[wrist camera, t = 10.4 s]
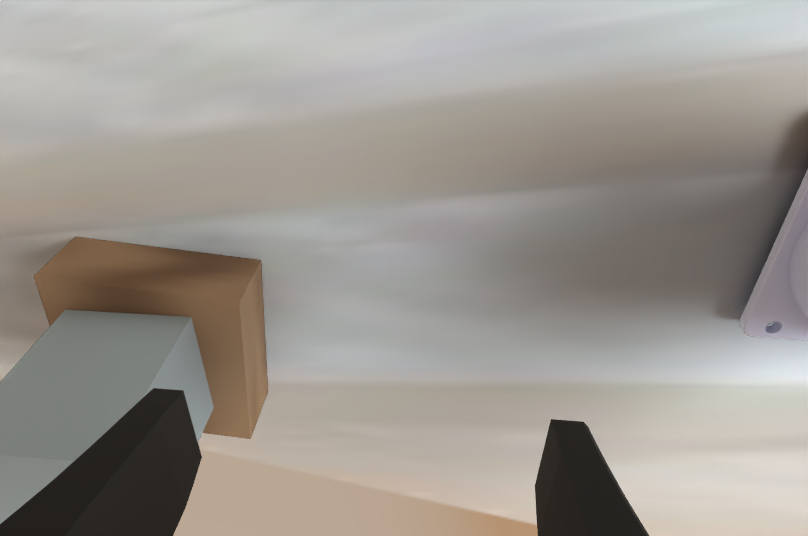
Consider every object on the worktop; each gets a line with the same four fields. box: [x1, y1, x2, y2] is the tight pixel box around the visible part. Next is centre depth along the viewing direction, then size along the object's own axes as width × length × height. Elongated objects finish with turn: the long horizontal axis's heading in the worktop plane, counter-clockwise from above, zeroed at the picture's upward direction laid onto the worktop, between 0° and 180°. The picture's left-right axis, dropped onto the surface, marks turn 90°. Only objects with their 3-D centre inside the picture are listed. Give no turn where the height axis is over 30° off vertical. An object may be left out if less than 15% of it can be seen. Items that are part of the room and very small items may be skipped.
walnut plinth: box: [34, 237, 268, 439], centre depth 23 cm, size 7×7×3 cm
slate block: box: [0, 310, 214, 524], centre depth 19 cm, size 4×4×6 cm
